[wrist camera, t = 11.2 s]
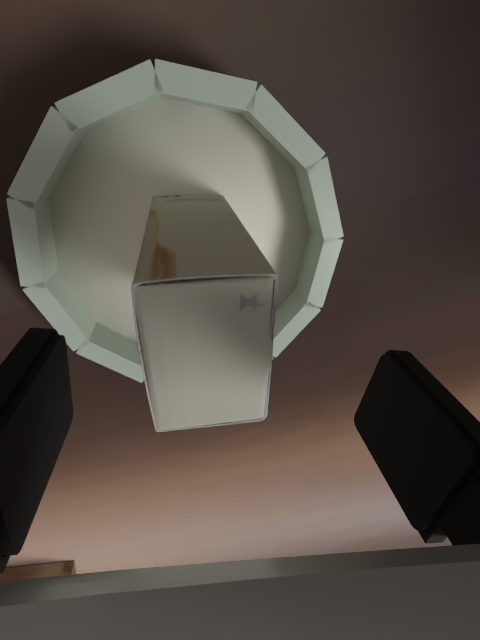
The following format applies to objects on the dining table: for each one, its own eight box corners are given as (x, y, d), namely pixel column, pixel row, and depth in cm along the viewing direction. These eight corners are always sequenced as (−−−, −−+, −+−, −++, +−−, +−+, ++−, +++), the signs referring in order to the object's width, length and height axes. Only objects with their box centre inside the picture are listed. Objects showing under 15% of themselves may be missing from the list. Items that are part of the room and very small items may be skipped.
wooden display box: (74, 560, 37) (62, 610, 33) (82, 620, 44) (73, 667, 40) (-86, 576, 34) (-119, 634, 30) (-49, 638, 41) (-72, 691, 37)
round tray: (352, 113, 20) (383, 110, 17) (285, 359, 28) (298, 385, 25) (13, 38, 16) (-24, 17, 13) (52, 351, 24) (36, 382, 21)
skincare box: (150, 194, 19) (122, 270, 9) (224, 193, 20) (282, 263, 9) (161, 294, 22) (151, 439, 12) (225, 291, 23) (269, 425, 13)
